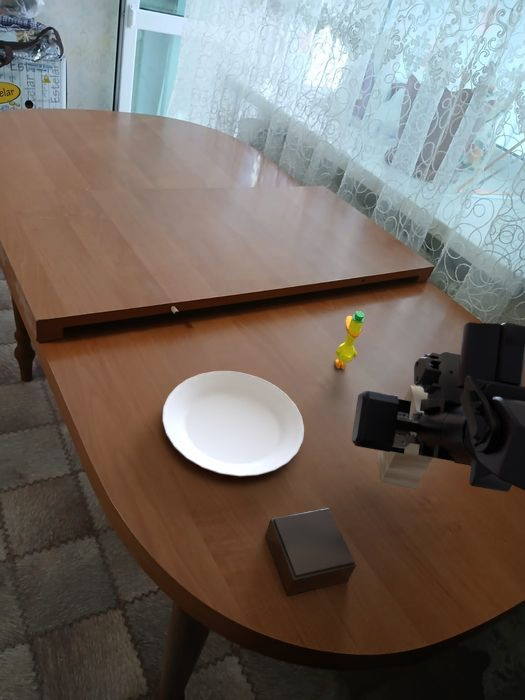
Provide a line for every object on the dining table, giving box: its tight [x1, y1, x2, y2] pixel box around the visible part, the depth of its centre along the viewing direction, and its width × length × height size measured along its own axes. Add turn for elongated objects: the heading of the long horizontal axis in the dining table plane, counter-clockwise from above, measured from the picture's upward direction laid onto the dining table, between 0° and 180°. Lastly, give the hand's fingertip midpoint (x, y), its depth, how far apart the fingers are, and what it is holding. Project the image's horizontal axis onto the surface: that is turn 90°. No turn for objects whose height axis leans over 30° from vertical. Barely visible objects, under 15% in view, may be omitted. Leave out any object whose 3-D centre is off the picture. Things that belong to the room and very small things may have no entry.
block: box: [376, 384, 434, 490], centre depth 68 cm, size 5×5×13 cm
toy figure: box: [334, 310, 366, 370], centre depth 94 cm, size 7×4×12 cm, turn 1°
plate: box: [161, 370, 305, 477], centre depth 80 cm, size 21×21×2 cm
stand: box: [264, 507, 357, 597], centre depth 65 cm, size 8×8×4 cm
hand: (411, 430), depth 69 cm, fingers closed on block, 4 cm apart
